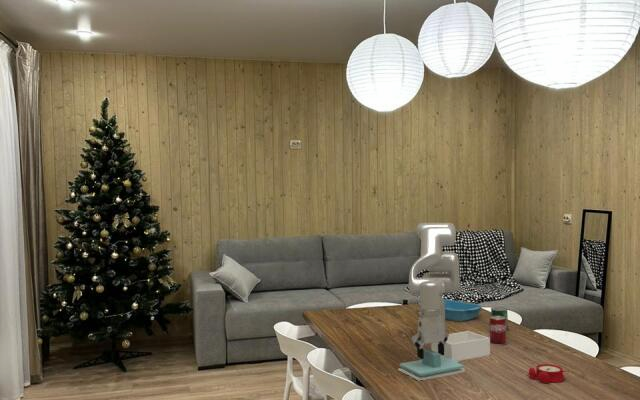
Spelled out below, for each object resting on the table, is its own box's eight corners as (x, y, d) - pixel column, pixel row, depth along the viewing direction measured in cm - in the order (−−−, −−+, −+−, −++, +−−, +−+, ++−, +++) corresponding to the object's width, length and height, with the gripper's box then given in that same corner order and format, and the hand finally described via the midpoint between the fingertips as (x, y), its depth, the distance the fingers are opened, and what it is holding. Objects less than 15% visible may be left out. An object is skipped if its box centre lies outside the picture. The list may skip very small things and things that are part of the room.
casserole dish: (411, 314, 329) (410, 302, 329) (435, 308, 344) (435, 296, 343) (464, 325, 301) (464, 311, 301) (489, 318, 315) (489, 305, 315)
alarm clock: (573, 370, 213) (542, 367, 207) (570, 387, 213) (540, 384, 207) (551, 362, 223) (522, 359, 217) (549, 379, 222) (519, 376, 216)
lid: (420, 378, 216) (419, 360, 216) (399, 368, 229) (399, 351, 229) (467, 369, 225) (467, 352, 225) (444, 359, 238) (444, 343, 238)
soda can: (507, 345, 260) (506, 319, 260) (490, 345, 261) (490, 319, 261) (505, 341, 267) (505, 315, 267) (489, 341, 268) (488, 315, 268)
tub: (451, 363, 236) (451, 344, 236) (431, 355, 249) (431, 336, 248) (490, 356, 244) (489, 337, 244) (468, 348, 257) (468, 330, 257)
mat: (398, 371, 229) (397, 368, 229) (443, 362, 238) (443, 360, 238) (418, 381, 216) (418, 378, 216) (465, 372, 225) (465, 369, 225)
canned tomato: (506, 328, 291) (505, 306, 291) (509, 332, 283) (509, 310, 283) (490, 328, 292) (489, 307, 292) (493, 332, 284) (492, 310, 284)
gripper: (416, 317, 219) (418, 362, 220) (453, 312, 227) (454, 355, 227) (406, 313, 226) (407, 357, 227) (442, 308, 233) (443, 350, 234)
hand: (431, 356), depth 227 cm, fingers open, 9 cm apart
